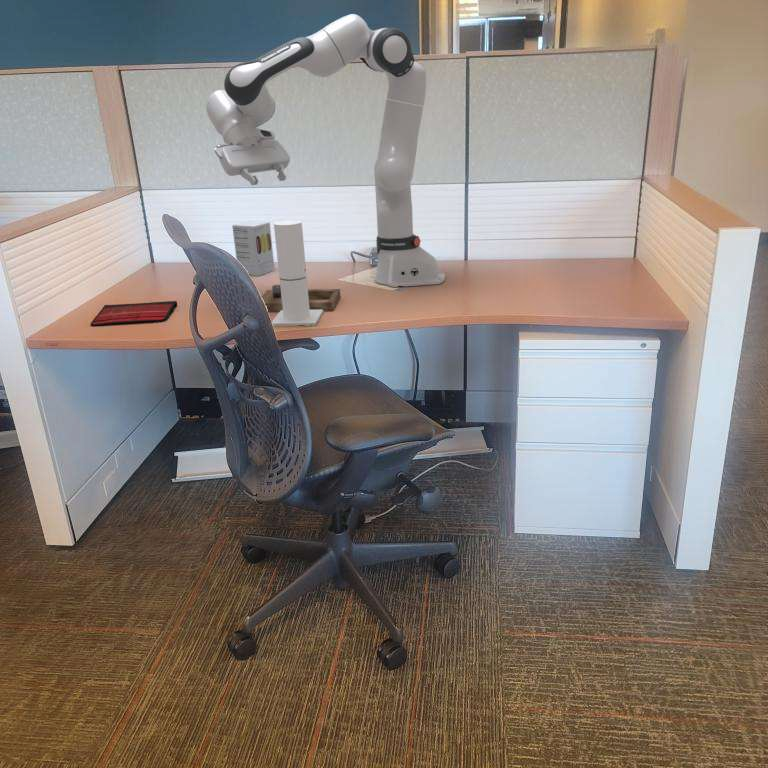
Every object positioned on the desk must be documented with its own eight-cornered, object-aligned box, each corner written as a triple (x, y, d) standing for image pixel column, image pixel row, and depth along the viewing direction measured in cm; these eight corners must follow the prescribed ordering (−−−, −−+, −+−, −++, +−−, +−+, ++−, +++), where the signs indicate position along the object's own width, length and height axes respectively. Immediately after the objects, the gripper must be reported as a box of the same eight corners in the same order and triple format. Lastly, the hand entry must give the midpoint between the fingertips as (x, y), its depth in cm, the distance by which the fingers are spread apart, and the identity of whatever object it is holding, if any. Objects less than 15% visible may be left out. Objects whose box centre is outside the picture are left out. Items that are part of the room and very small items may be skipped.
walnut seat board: (340, 297, 201) (339, 278, 199) (333, 311, 188) (331, 291, 186) (268, 298, 203) (266, 280, 201) (256, 312, 190) (253, 293, 188)
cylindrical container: (312, 311, 185) (304, 219, 176) (307, 319, 179) (298, 224, 169) (286, 312, 186) (277, 220, 176) (280, 320, 180) (270, 225, 170)
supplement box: (258, 276, 229) (252, 226, 222) (237, 274, 233) (230, 225, 226) (275, 270, 236) (270, 221, 230) (254, 268, 240) (249, 220, 234)
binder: (104, 304, 198) (176, 299, 199) (106, 311, 199) (178, 307, 200) (87, 323, 184) (165, 318, 185) (89, 331, 185) (167, 326, 186)
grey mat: (323, 312, 187) (323, 309, 187) (315, 325, 176) (315, 322, 176) (281, 312, 189) (280, 310, 188) (270, 326, 178) (270, 323, 177)
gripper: (214, 137, 176) (241, 177, 173) (277, 131, 189) (302, 168, 187) (208, 154, 181) (233, 194, 178) (269, 148, 194) (294, 184, 191)
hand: (269, 181), depth 182 cm, fingers open, 8 cm apart
